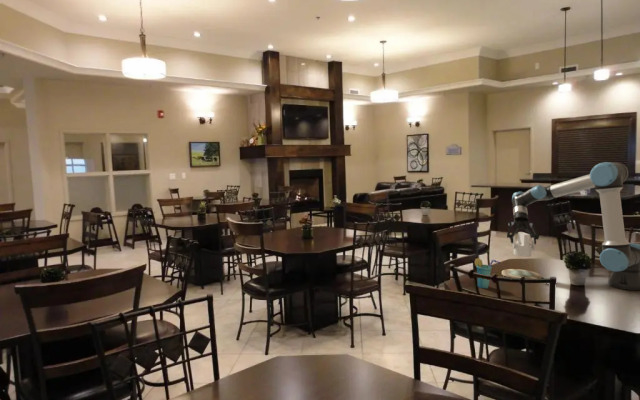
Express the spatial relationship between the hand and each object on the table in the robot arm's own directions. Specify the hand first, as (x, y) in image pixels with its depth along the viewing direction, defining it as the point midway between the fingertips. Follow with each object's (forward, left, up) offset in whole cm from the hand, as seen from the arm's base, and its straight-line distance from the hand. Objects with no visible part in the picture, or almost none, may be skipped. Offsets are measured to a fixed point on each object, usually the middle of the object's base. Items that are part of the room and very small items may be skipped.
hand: (523, 248), depth 239 cm
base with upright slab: (-1, -3, -4) cm, 6 cm away
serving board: (-1, -3, -17) cm, 17 cm away
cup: (+27, +18, -17) cm, 37 cm away
